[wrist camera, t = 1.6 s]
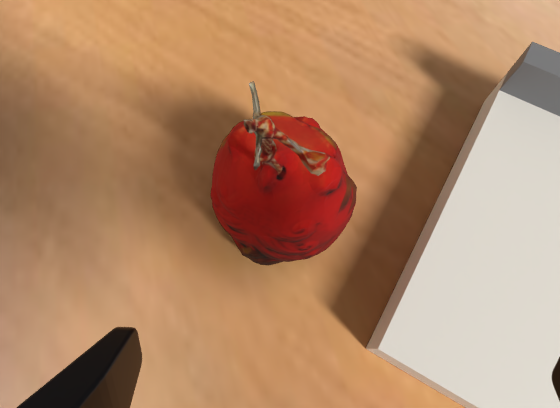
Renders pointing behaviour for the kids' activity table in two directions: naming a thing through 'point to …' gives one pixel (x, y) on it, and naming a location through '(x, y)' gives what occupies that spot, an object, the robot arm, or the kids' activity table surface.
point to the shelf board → (490, 256)
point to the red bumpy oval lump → (281, 187)
